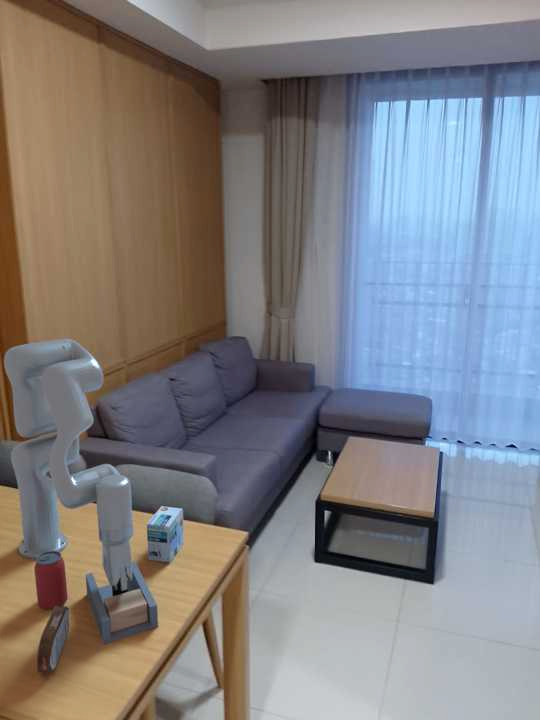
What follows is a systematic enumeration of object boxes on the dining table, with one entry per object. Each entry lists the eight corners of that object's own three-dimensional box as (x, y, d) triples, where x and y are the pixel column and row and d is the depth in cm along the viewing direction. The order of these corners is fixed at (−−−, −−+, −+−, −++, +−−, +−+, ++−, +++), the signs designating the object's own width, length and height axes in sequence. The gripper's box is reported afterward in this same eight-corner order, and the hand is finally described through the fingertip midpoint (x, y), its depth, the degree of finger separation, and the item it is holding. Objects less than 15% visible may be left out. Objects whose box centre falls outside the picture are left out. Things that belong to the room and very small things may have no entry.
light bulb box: (171, 563, 149) (169, 526, 146) (147, 560, 150) (145, 524, 148) (184, 542, 159) (183, 507, 157) (162, 539, 160) (161, 505, 158)
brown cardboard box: (104, 616, 127) (103, 599, 126) (140, 605, 130) (139, 588, 129) (110, 632, 121) (109, 614, 120) (147, 621, 125) (146, 603, 124)
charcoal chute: (87, 594, 136) (85, 574, 135) (136, 580, 141) (135, 561, 140) (103, 644, 120) (101, 622, 118) (158, 626, 125) (157, 605, 124)
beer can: (37, 597, 135) (33, 553, 132) (66, 590, 137) (62, 547, 135) (38, 614, 129) (33, 568, 126) (68, 607, 131) (64, 561, 129)
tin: (58, 630, 124) (55, 597, 122) (73, 629, 124) (70, 596, 122) (36, 684, 109) (32, 647, 107) (53, 682, 110) (49, 646, 108)
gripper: (92, 519, 131) (97, 588, 135) (106, 550, 118) (111, 625, 122) (124, 511, 134) (128, 579, 138) (141, 541, 121) (145, 615, 126)
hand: (120, 600), depth 130 cm, fingers closed
